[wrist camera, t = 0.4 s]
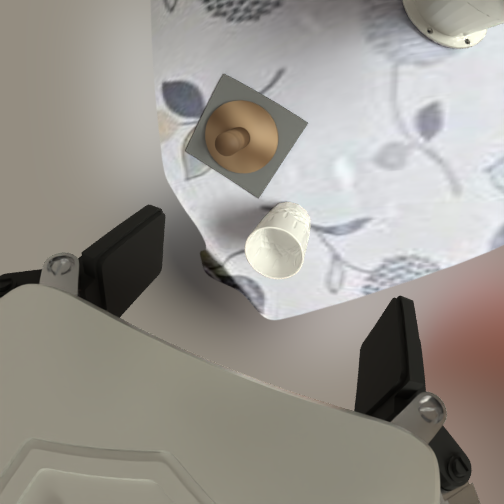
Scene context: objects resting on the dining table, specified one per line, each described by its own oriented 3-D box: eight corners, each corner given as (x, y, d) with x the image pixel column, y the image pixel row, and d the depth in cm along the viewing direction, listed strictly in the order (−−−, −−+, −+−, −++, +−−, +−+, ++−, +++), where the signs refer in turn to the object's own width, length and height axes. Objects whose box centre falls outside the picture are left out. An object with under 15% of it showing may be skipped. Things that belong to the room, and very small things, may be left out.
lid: (227, 87, 39) (209, 88, 35) (292, 125, 40) (283, 132, 35) (196, 147, 46) (177, 157, 41) (255, 185, 46) (241, 199, 41)
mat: (224, 74, 39) (223, 74, 38) (308, 123, 39) (307, 123, 39) (186, 150, 47) (185, 151, 47) (259, 197, 47) (258, 198, 47)
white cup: (262, 236, 51) (242, 270, 43) (268, 192, 46) (247, 220, 38) (309, 249, 49) (297, 286, 41) (319, 205, 45) (309, 236, 37)
